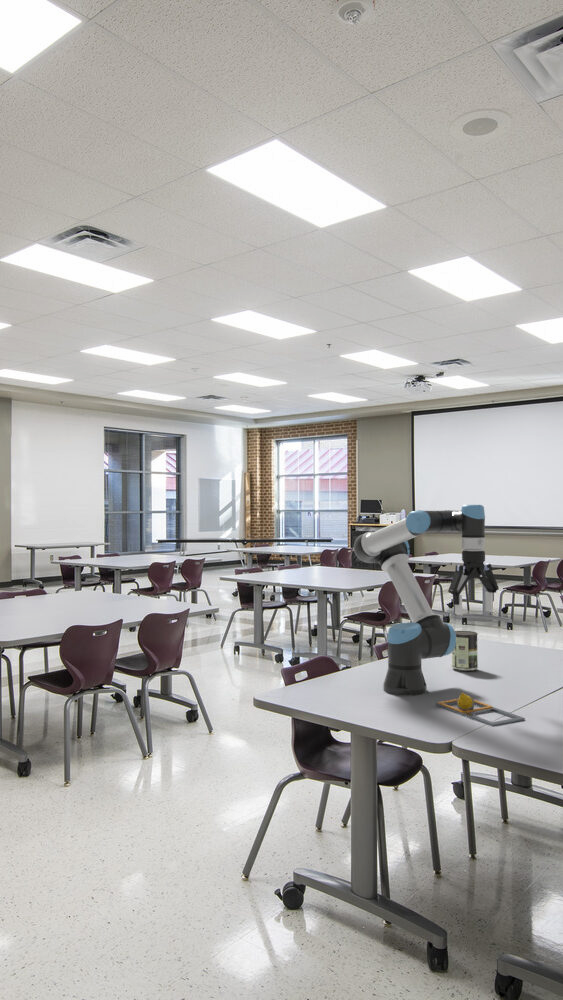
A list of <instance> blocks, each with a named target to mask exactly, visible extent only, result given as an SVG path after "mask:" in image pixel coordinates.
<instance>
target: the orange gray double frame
mask: <svg viewBox="0 0 563 1000" xmlns="http://www.w3.org/2000/svg"><path fill="white" fill-rule="evenodd" d="M457 699H458V698H454V699H448V700H442V701H437V702H435V707H438V708H441V709H444V710H447V711H448V712H452V713H454V714H457V713H458V715H460V714H461V715H460V716H462V717H465V716H467V717H466V718H468V717H469V718H468V719H471V718H472V719H471V720H474V719H475V720H474V721H476V720H477V721H476V722H479V721H480V722H479V723H482V724H486V725H488V726H490V725H491V727H496V726H497V727H498V726H502V725H507V724H512V723H519V722H524V721H526V718H525V717H523V716H520V715H517V714H514V713H511V712H509V711H506V710H503V709H500V708H497V707H494V706H492V705H491V704H487V703H484V702H481V701H478V700H476V699H473V700H474V706H475V705H477V706H476V707H477V708H473V709H471V710H465V711H463V710H460V709H459V708H458V707H455V706H454V705H457ZM478 706H479V707H478ZM481 707H482V708H481ZM489 711H494V712H493V713H497V714H500V715H501V716H502V715H503V716H505V717H508V719H501V720H498V721H490V720H487V719H484V718H482V717H479V716H477V715H479V714H478V713H482V714H485V713H484V712H488V713H490V712H489ZM473 714H476V715H473Z"/></svg>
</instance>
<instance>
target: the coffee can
mask: <svg viewBox="0 0 563 1000" xmlns="http://www.w3.org/2000/svg"><path fill="white" fill-rule="evenodd" d="M455 633H456V645H455V648H454V650H453V651H452V653H451V668H452V669H454V670H459V671H476V670H478V669H479V667H478V665H479V664H478V662H479V661H478V660H479V659H478V635H479V633H478V632H476V631H473V630H472V631H471V630H455Z"/></svg>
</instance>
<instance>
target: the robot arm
mask: <svg viewBox="0 0 563 1000" xmlns="http://www.w3.org/2000/svg"><path fill="white" fill-rule="evenodd" d="M485 522H486V514H485V506H484V505H482V504H463V505H461V510H450V509H449V510H445V509H444V510H413V511H410V512H409V513H408V514H407V516H406V517H405V518H404V519H401V520H399V521H397V522H394V523H391V524H389V525H388V526H385V527H382V528H380V529H378V530H376V531H366V532H365V533H363V534H360V535H359V536H358V537H357V538H355V541H354V542H353V552H354V554H355V557H356V558H358V560H360V561H361V562H363V563H367V564H379V567H380V568H381V571H383V572H385V573H387V574H388V575H389V578H390V579H391V582H392V584H393V586H394V588H395V590H396V592H397V594H398V596H399V598H400V600H401V602H402V604H403V607H404V608H405V611H406V612H407V615H408V617H409V619H410V621H411V622H408V621H407V622H399V623H395V624H393V625H391V626H390V627H389V629H388V631H387V666H388V667H387V671H386V675H385V678H384V681H383V687H382V688H383V689H382V690H383V691H384V692H385V693H388V694H389V695H395V696H403V697H404V696H407V697H409V696H413V697H414V696H419V695H424V694H425V693H427V692H428V691H427V690H428V688H427V687H428V686H427V683H426V680H425V677H424V673H423V671H422V660H424V659H434V658H442V657H444V656H445V657H446V656H448V655H450V654H452V651H453V650H454V648H455V645H456V633H455V631H456V630H455V629H454V627H453V626H452V625H451V624H450V623H448V622H443V620H442V618H441V616H440V614H438V613H434V612H433V609H432V608H431V606H430V604H429V601H428V600H427V598H426V596H425V595H424V593H423V591H422V588H421V587H420V584H419V582H418V581H417V578H416V576H415V575H414V573H413V570H412V569H411V567H410V565H409V562H408V561H409V560H410V553H411V552H410V551H411V550H410V544H409V540H411V539H414V538H416V537H420V536H422V535H424V534H427V533H461V548H462V551H461V560H462V562H463V565H462V564H456V565H455V572H454V574H453V577H452V580H451V582H450V584H449V587H448V591H447V592H448V593H449V594H451V595H452V597H453V605H454V615H459V616H463V595H462V594H461V593H462V592H463V590H464V589H465V586H467V584H468V582H469V580H471V579H475V578H478V580H479V581H480V582H481V584H482V585H483V587H484V588H485V589H486V591H485V592H484V593H485V595H484V597H485V600H484V601H485V602H484V603H485V604H484V605H485V612H489V613H493V612H494V600H495V593H497V591H499V589H500V588H499V585H498V583H497V579H496V578H495V576H494V573H493V570H492V564H491V563H485V561H486V551H485V549H486V541H485V539H486V538H485V537H486V534H485V531H486V524H485Z"/></svg>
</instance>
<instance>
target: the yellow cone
mask: <svg viewBox="0 0 563 1000" xmlns="http://www.w3.org/2000/svg"><path fill="white" fill-rule="evenodd" d="M456 699H457V704H456V706H457V708H458V709H460V710H463V711H465V710H471V709H474V707H475V705H474V700H475V699H474V698H473V697H472V696H471V695H469V694H465V693H464V692H461V693H460V695H459V697H457V698H456Z"/></svg>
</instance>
